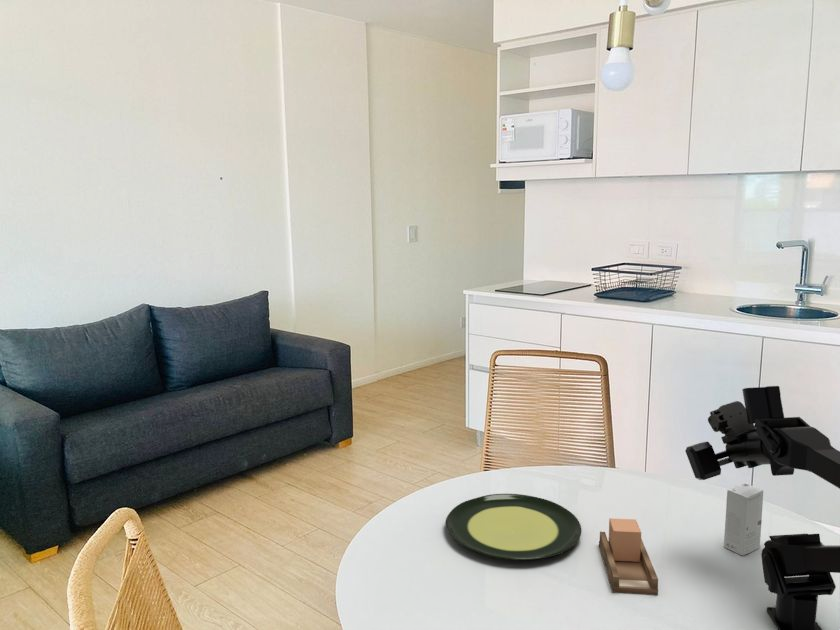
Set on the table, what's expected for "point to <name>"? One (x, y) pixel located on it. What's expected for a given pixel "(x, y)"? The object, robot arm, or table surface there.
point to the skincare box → (743, 519)
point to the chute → (629, 571)
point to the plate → (513, 526)
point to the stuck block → (625, 539)
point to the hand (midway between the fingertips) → (715, 451)
